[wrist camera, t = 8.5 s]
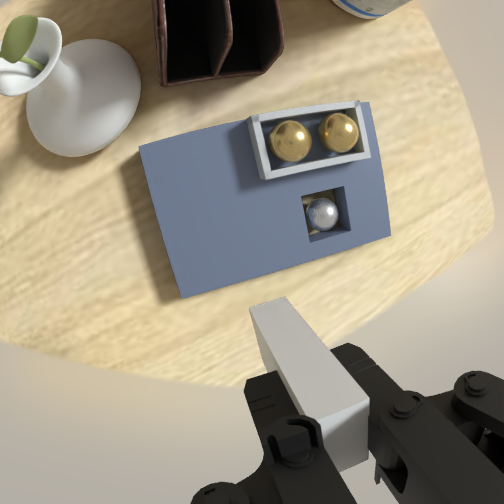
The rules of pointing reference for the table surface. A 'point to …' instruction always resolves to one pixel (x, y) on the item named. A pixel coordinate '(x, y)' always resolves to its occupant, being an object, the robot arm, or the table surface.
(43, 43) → the flower in vase
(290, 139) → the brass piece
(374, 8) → the supplement tub
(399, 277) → the table surface
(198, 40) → the letter holder
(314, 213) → the steel ball
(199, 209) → the deck
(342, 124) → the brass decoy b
